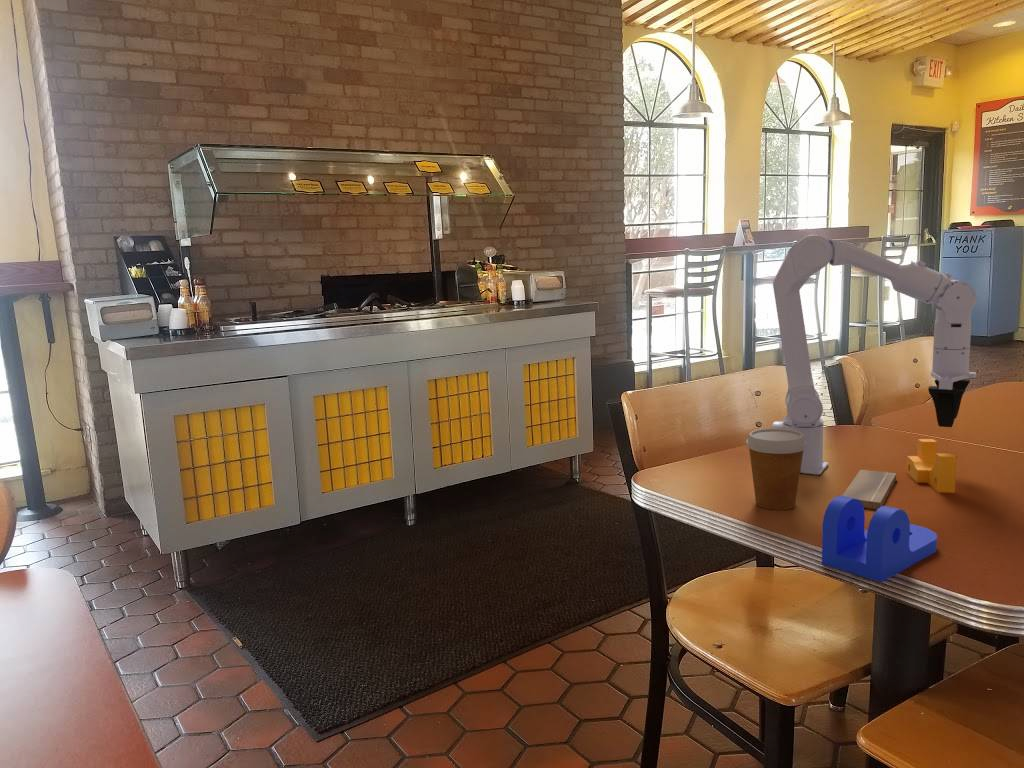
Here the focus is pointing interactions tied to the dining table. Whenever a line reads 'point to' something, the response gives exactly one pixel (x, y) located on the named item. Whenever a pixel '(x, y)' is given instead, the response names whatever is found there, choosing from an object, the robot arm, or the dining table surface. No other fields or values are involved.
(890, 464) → the dining table surface
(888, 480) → the board
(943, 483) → the pipe clamp
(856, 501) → the bracket
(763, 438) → the disposable coffee cup
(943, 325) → the robot arm
